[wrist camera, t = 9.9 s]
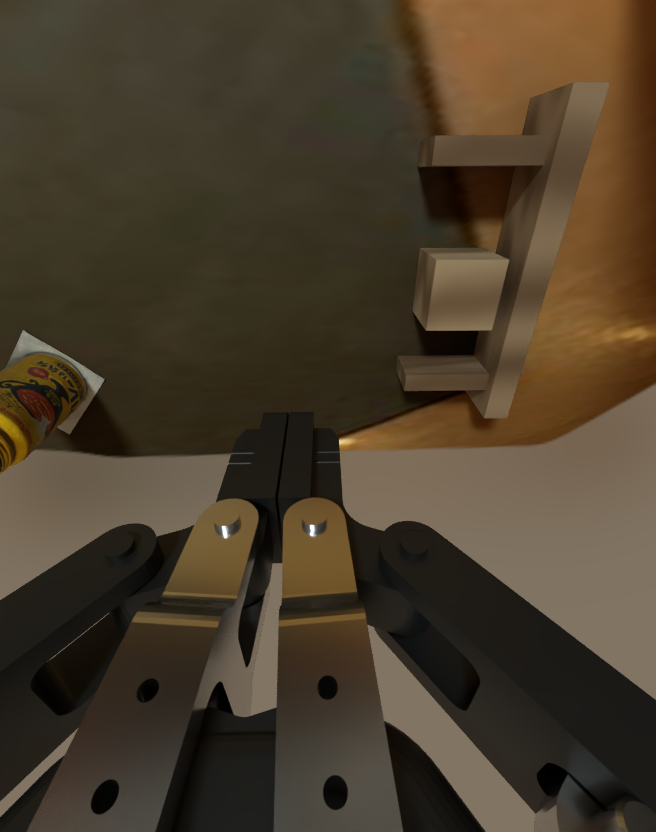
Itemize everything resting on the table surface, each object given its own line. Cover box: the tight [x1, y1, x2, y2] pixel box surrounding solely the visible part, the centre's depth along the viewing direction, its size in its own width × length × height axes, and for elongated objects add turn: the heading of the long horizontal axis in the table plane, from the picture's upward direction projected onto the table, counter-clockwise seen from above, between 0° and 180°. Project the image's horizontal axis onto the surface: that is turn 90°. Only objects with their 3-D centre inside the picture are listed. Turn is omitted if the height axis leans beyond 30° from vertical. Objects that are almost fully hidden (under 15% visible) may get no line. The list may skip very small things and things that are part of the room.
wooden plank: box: [396, 82, 610, 418], centre depth 28 cm, size 22×9×5 cm, turn 0°
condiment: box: [0, 330, 105, 473], centre depth 30 cm, size 7×8×12 cm
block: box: [413, 248, 509, 331], centre depth 29 cm, size 5×5×5 cm
